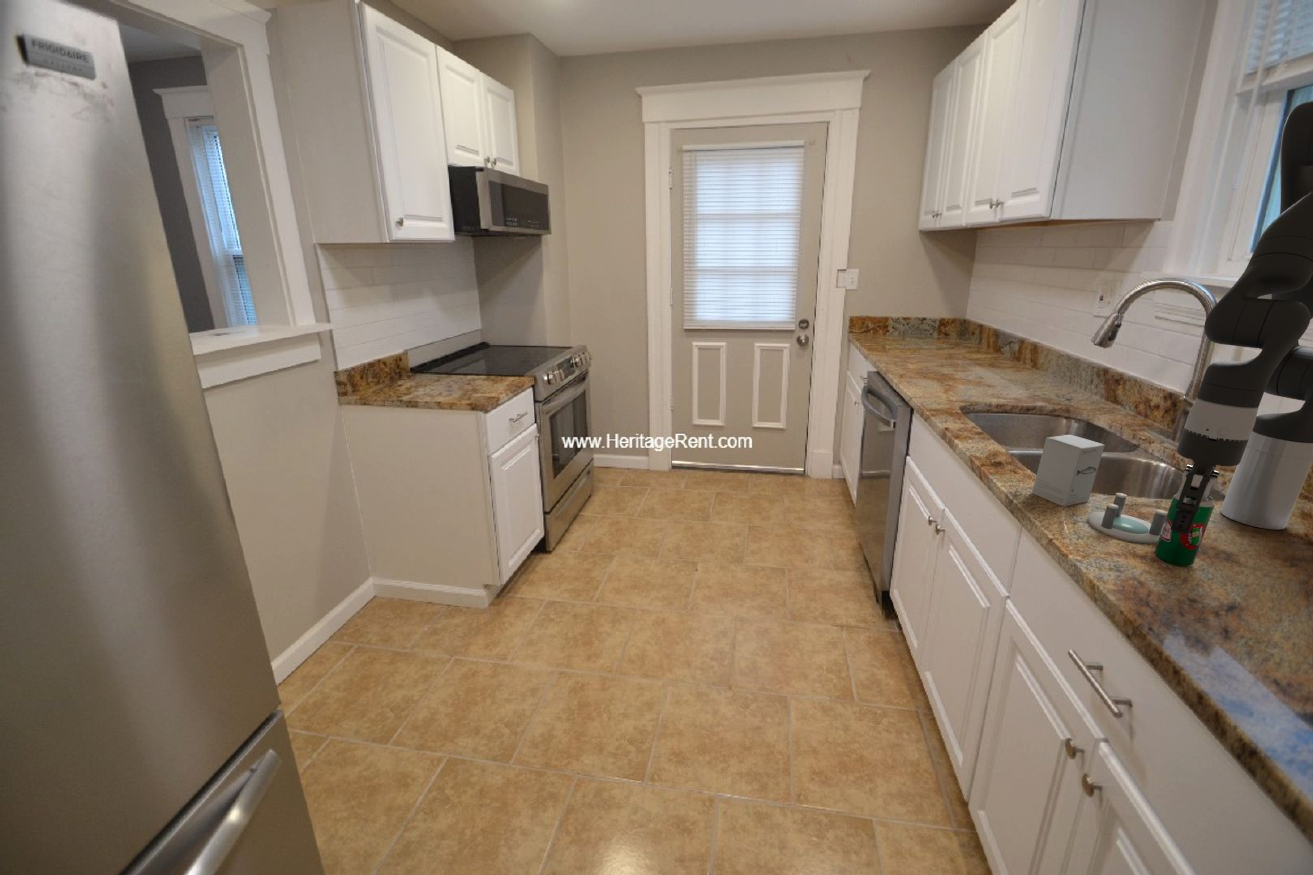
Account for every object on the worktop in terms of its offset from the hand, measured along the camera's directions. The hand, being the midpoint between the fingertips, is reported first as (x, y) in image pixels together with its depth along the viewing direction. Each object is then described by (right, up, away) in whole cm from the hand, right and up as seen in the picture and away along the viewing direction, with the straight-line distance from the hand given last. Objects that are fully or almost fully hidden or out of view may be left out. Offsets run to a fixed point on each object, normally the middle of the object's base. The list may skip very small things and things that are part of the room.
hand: (1182, 524), depth 96 cm
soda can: (0, -6, +2) cm, 7 cm away
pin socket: (+1, -3, +13) cm, 13 cm away
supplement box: (-3, +2, +26) cm, 26 cm away
